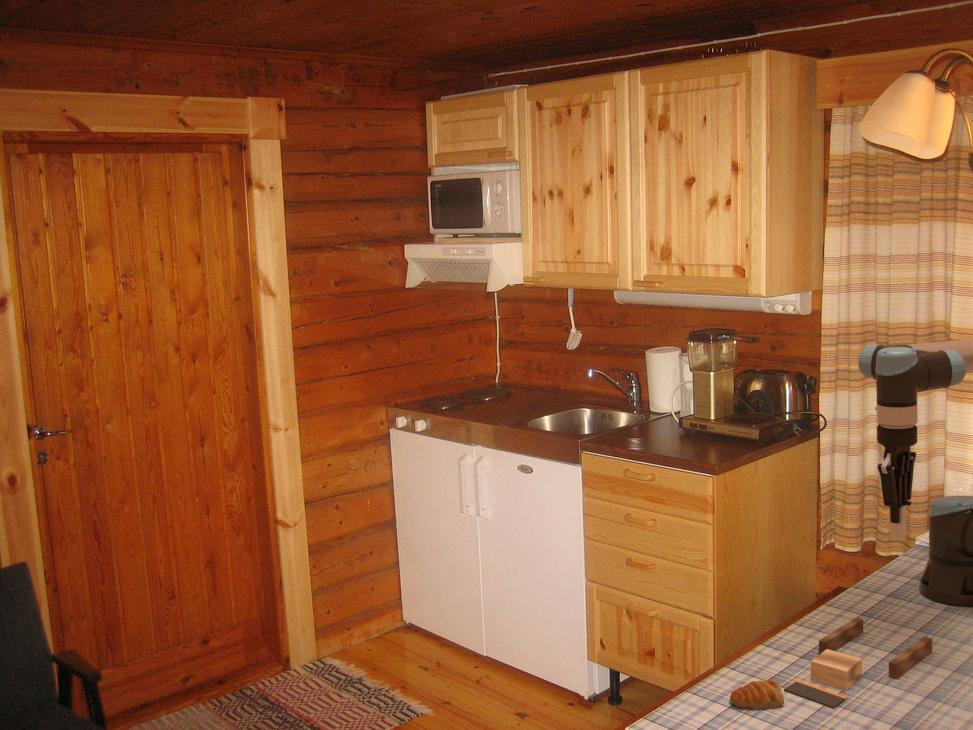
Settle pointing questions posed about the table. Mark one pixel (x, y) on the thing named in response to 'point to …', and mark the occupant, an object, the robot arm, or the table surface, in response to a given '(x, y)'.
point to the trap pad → (815, 694)
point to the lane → (896, 665)
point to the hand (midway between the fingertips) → (897, 536)
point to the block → (836, 669)
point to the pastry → (758, 695)
